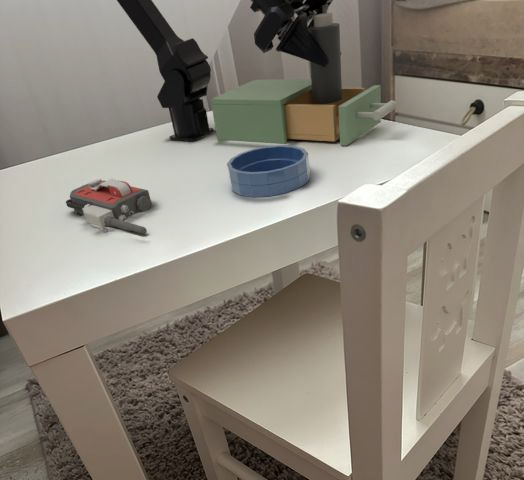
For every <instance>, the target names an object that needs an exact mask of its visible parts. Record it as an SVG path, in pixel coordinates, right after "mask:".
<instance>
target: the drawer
mask: <svg viewBox="0 0 524 480" xmlns="http://www.w3.org/2000/svg"><path fill="white" fill-rule="evenodd" d="M381 86H382V85H381V84H378V85H377V84H374V85H372V86H369V88H365V87H342V99H341V100H340V101H337V102H334V103H329V104H316V103H313V99H312V90H310V91H308V92H306V93H304V94H302V95H300V96H298V97H296V98H294V99H292V100H290V101H288V102H286V103H284V104H283V106H284V115H285V125H286V135H287V139H293V140H303V141H305V140H306V141H319V142H336V141H338V140H339V146H344V147H345V146H346V147H348V146H349V145H351V144H352V143H353V142H355V141H357V139H359V138H360V137H362V136H363V135H365V134H366V133H367V132H369V131H370V130H372V129H373V128H374V127H375V126H377V125H378V124H380V123H382V122H381V119H383V118H384V117H385V116H387V115H388V114H390V113H391V112H392V111H394V110H395V109H396V108H397V102H396V101H395V100H393V99H392V100H389V101H388V102H382V101H381V100H382V99H381V98H382V97H381V96H382V95H381V93H382V90H381V89H382V87H381Z"/></svg>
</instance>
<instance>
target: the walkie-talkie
mask: <svg viewBox="0 0 524 480" xmlns="http://www.w3.org/2000/svg"><path fill="white" fill-rule="evenodd" d="M65 204H66V206H67V208H69V209H73V210H74V212H75V213H77V214H79V215H83V216H84V217H85V219H86V223H88V224H90V225H91V227H92V226H93V227H96V228H99V229H100V230H102V231H105V230H107V229H108V228H107V227H111V228H118V229H120V230H123V231H128V232H136V233H138V234H139V233H140V234H147V233H148V230H147V228H146V227H145V226H142V225H138V224H135V223H132V222H128V221H124V220H128V217H130V216H131V215H134V214H136V213H139V212H142V213H143V212H145V211H147V210H149V209H151V206H152V205H153V204H152V200H151V195H150V192H149V190H148V189H144V188H140V187H136V186H132V185H130V184H129V183H128V182H127V181H125V180H118V179H114V178H110V179H107V180H103V179H102V178H98V179H96V180H93V181H90V182H88V183H86V184H84V185H81V186H80V187H76V188H74V189H72V190H71V192H70V193H69V199H67V200H66V201H65Z"/></svg>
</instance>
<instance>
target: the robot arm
mask: <svg viewBox="0 0 524 480" xmlns="http://www.w3.org/2000/svg"><path fill="white" fill-rule="evenodd" d="M116 1H117V3H118V5H120V7H121V8H122V11H124V12H125V14H126V15H127V17H128V18H129V20H130V21H131V22H132V23H133V25H134V26H135V27H136V29H137V30H138V32H139V33H140V34H141V36H142V37H143V38H144V40H145V41H146V43H147V44H148V45H149V47H150V48H151V49H152V51H153V52H154V54H155V55H156V56H155V57H156V61H157V66H158V71H159V74H160V75H161V77H162V79H163V81H164V82H163V84H162V86H161V88H160V90H159V92H158V93H157V96H156V97H157V100H158V102H159V104H160V105H161V107H162V109H168V111H169V116H170V121H171V125H172V129H173V134H171V135H170V136H169V140H172V141H173V140H176V141H186V142H188V141H189V142H194V141H197V140H199V139H201V138H202V137H205V136H207V135H209V134H211V133H213V132H214V131H215V129H214V127H210V124H209V118H208V113H207V109H206V108H205V105H204V99H202V98H203V97H206V96H208V87H209V84H210V81H211V78H212V77H211V72H212V68H211V66H210V65H211V64H210V63H209V62H208V61H207V60H208V59H209V56H208V55H207V54H205V53H204V52H203V51H202V49H201V47H200V46H199V44H198V42H197V41H196V39H194V38H193V37H192V38H189V39H186V40H184V39H182V38H180V37H179V36H178V35H177V34H176V32H175V31H174V29H173V28H172V26H171V25H170V24H169V23H168V21H167V20H166V18H165V17H164V15H163V14H162V13H161V11H160V10H159V8H158V6H157V5H156V4H155V3H154V2H153V0H116ZM333 1H334V0H250V2H251V5H250V7H249V8H250V10H251V11H253V13H258V12H261V13H262V15H263V18H262V19H261V21H260V22H259V24H258V26H257V28H256V29H255V31H254V33H253V39H254V45H255V46H256V47H257V48H258V49H259V50H260V51H261V52H262V53H263V54H266V53H268V52H270V51H272V50H273V48H274V43H273V41H274V39H275V37H276V36H278V37H277V40H278V41H279V43H278V45H277V46H276V48H275V51H276V52H278V53H280V52H281V53H285V54H288V55H291V56H294V57H297V58H299V59H302V60H305V61H307V62H309V63H310V62H313V63H315V64H318V65H321V66H323V67H325V66H326V65H327V64H328V63H329V59H328V58H327V56H326V54H325V53H324V51H323V50H322V49H321V47H320V46H319V44H318V43H317V42H316V40H315V39H314V38H313V36H312V35H311V33H310V32H309V31H308V28H309V27H312V26H314V16H315V15H318V14H323V13H328V11H329V7H330V6H331V5H332V3H333ZM340 53H341V54H342V51H341V50H340Z"/></svg>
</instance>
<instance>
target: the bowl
mask: <svg viewBox="0 0 524 480" xmlns="http://www.w3.org/2000/svg"><path fill="white" fill-rule="evenodd" d="M226 167H227V174H228V179H229V186H230V188H231V191H232V192H233V193H235V194H237V195H239V196H242V197H243V196H244V197H251V198H261V197H262V198H263V197H273V196H279V195H283V194H286V193H290V192H291V191H295V190H298V189H300V188H301V187H303V186H305V184H307V183H309V179H310V177H311V171H310V156H309V152H308V151H307V150H306V149H305V148H302V147H299V146H296V145H286V144H280V145H279V144H277V145H268V146H262V147H257V148H252V149H249V150H247V151H243V152H240V153H238V154H236V155H235V156H232V157H231V158H230V159H229V161H228V162H227V163H226Z"/></svg>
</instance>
